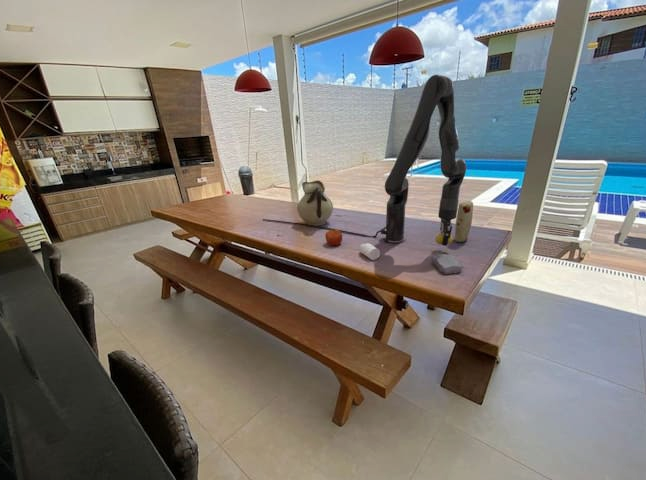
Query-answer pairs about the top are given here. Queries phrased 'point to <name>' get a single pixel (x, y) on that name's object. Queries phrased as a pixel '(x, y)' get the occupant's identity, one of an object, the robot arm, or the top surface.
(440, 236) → the lemon
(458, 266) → the stone block
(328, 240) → the tomato
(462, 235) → the food model
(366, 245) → the roll
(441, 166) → the robot arm
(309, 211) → the cream drawstring sack
